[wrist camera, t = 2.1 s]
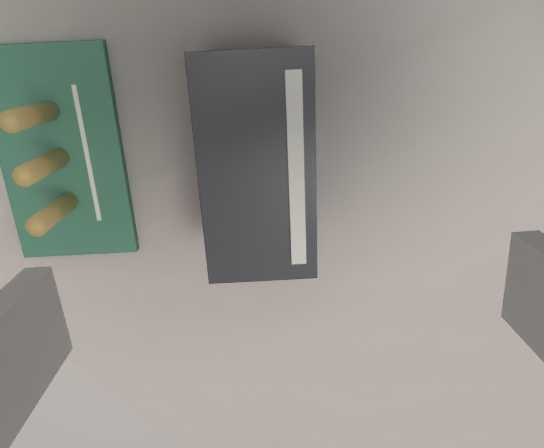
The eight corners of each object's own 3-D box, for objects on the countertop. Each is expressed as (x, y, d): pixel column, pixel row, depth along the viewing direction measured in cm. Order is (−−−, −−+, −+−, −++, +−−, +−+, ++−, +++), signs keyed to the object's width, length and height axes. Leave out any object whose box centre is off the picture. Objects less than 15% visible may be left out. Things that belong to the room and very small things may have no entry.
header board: (-26, 46, 28) (-91, 44, 23) (105, 39, 28) (69, 36, 23) (28, 254, 33) (-16, 291, 28) (139, 248, 33) (116, 284, 28)
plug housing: (204, 52, 28) (183, 51, 21) (300, 47, 29) (314, 45, 21) (220, 230, 33) (208, 285, 25) (304, 226, 33) (317, 279, 25)
